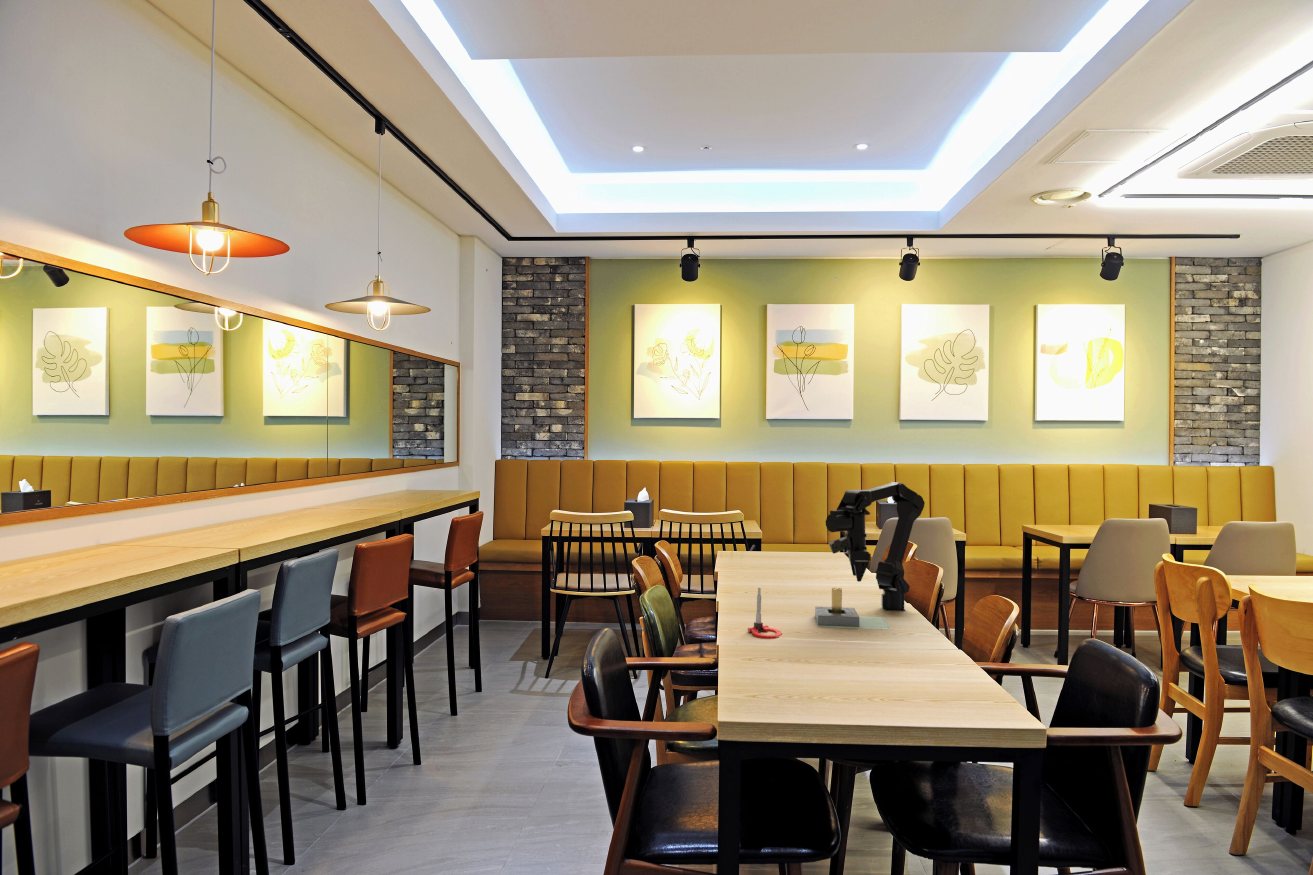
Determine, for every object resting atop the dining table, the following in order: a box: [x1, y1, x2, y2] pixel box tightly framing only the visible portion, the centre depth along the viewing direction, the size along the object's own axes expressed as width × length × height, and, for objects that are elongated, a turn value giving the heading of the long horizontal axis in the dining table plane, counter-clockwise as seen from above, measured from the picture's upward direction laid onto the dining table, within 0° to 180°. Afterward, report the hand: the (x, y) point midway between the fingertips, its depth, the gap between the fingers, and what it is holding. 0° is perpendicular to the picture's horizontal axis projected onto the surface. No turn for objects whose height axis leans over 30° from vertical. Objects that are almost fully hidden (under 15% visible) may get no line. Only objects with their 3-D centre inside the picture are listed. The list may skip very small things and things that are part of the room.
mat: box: [815, 616, 892, 631], centre depth 223 cm, size 21×15×1 cm
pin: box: [831, 587, 843, 614], centre depth 224 cm, size 3×3×10 cm
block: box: [814, 606, 860, 627], centre depth 224 cm, size 12×12×3 cm
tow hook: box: [747, 587, 783, 640], centre depth 210 cm, size 8×13×9 cm
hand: (856, 578), depth 234 cm, fingers open, 9 cm apart
